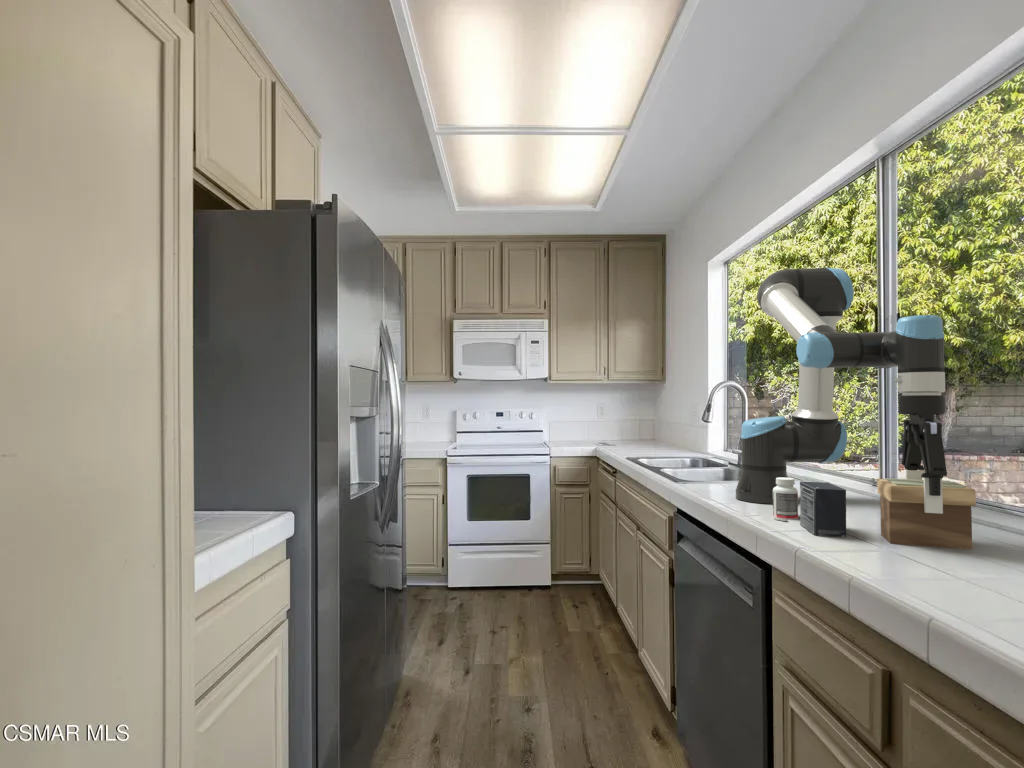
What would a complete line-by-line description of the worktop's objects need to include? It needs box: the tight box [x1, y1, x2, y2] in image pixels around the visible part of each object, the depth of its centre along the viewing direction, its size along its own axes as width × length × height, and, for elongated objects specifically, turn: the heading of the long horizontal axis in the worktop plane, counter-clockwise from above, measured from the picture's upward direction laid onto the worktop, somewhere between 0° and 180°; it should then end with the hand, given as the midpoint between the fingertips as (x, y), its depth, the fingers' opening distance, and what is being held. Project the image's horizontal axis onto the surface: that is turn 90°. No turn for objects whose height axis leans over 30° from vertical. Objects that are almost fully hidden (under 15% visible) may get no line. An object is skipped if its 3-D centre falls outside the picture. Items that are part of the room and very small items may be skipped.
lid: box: [876, 477, 977, 507], centre depth 111 cm, size 10×13×3 cm
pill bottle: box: [772, 477, 799, 522], centre depth 135 cm, size 5×5×10 cm
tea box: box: [879, 494, 973, 550], centre depth 111 cm, size 7×13×9 cm, turn 69°
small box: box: [799, 480, 847, 538], centre depth 121 cm, size 11×6×10 cm, turn 168°
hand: (923, 507), depth 111 cm, fingers closed on lid, 10 cm apart
